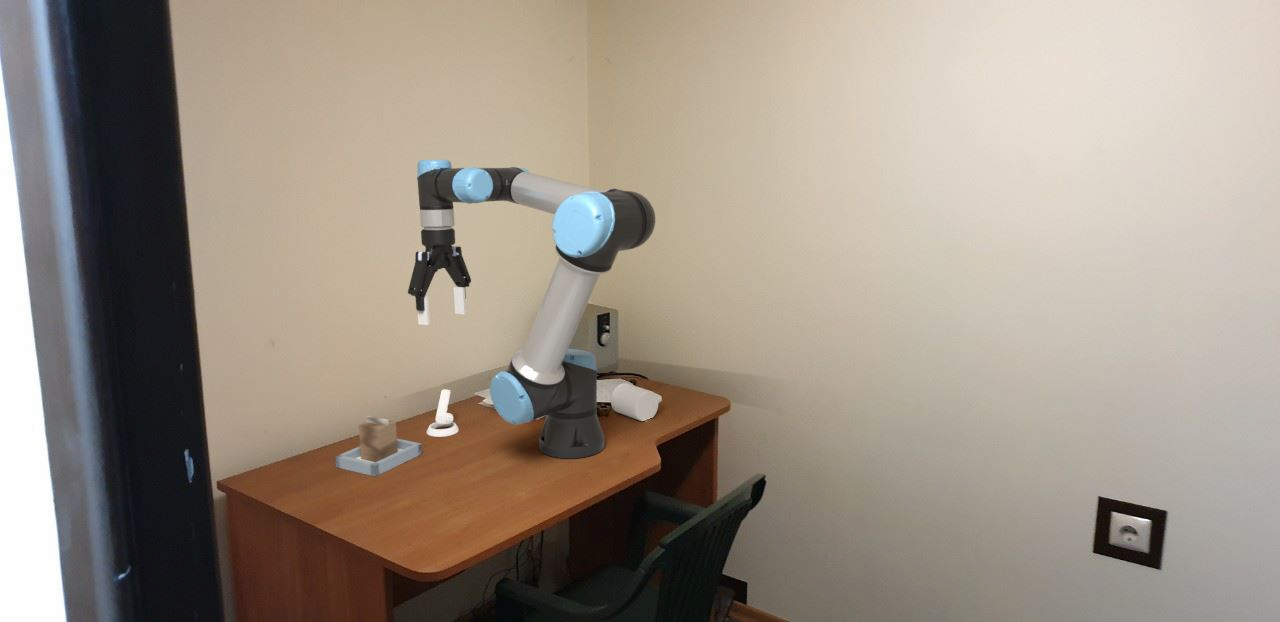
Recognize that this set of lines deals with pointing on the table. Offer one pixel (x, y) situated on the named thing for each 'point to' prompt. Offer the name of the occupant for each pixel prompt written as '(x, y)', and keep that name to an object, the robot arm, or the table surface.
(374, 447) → the brown cardboard carton
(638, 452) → the table surface
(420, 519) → the table surface
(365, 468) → the tray
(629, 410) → the mug
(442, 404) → the hook
